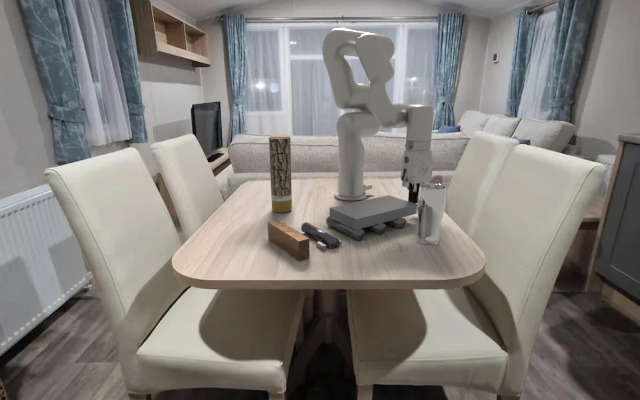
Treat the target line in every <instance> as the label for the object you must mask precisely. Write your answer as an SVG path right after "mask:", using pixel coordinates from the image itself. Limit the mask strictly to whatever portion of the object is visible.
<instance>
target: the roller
mask: <svg viewBox="0 0 640 400" xmlns="http://www.w3.org/2000/svg"><path fill="white" fill-rule="evenodd" d="M300 230H301V231H303V232H304V233H305V235H306V236H307V235H308V236H309V237H310V238H313V239H314V240H316V241H317V242H319V241H320V242H322V243H323V244H325V245H326V247H328V248H330V249H331V250H333V249H337V248H338V247H340V246H339V239H340V238H338V237H336V236H334V235H331V234H330V233H328V232H326V231H325V230H322V229H321V228H319V227H317V226H316V225H313V224H311V223H310V222H304V223H302V224H301V227H300ZM337 238H338V239H337Z"/></svg>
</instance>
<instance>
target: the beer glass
mask: <svg viewBox="0 0 640 400" xmlns="http://www.w3.org/2000/svg"><path fill="white" fill-rule="evenodd" d="M446 203H447V186H445V185H444V184H441V183H428V182H427V183H425V184H421V185H420V188H419V194H418V203H416V204H417V217H418V230H417V234H416V237H415V239H416V242H418V243H420V244H422V243H423V245H427V244H435V245H437V244H436V243H438V244H439V243H440V242H441V238H440V227H441V223H442V220H443V217H444V214H445V210H446Z"/></svg>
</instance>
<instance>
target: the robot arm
mask: <svg viewBox="0 0 640 400" xmlns="http://www.w3.org/2000/svg"><path fill="white" fill-rule="evenodd" d="M321 50H322V51H321V52H322V59H323V62H324V65H325V67H326V70H327V71H326V72H327V73H328V77H329V82H330V86H331V87H330V88H331V91H332V94H333V96H332V97H333V99H334V103H335V106H336V107H337V108H338V109H339V110H342V111H352V112H346V113H344V114H342V115H340V117H339V118H338V119H337V121H336V134H337V139H338V141H337V142H338V179H337V180H338V185H337V186H338V187H337V188H338V190H336V191H334V194H333V197H334V198H336V199H338V200H341V201H348V202H349V201H351V202H352V201H354V202H357V201H363V200H366V198H367V197H368V193H367V192H366V191H367V190H372V189H373V185H372V184H371V183H369V184H367V185H366V184H365V183H364V180H365V179H364V177H365V176H364V172H365V147H364V144H363V142H362V139H365V138H366V139H367V138H372V137H375V136H376V135H377V134H378V133H379V131H380V127H381V128H384V129H388V130H389V129H401V128H402V129H404V128H406V138H405V145H404V147H405V149H404V153H403V156H402V162H401V167H400V168H401V169H400V180H401V182H402V183H401V185H402V187H404V188H406V189H407V191H408V197H407V199H408V200H407V201H409V202H412V203H415V204H418V194H419V188H420V185H421V184H426V183H428V182H429V181H431V180H432V179H433V178H432V176H433V153H432V152H433V151H432V149H431V147H432V146H431V145H432V135H433V127H434V126H433V125H434V124H433V123H434V115H435V112H434V111H435V109H434V107H433V106H432V105H430V104H410V103H392V101H391V100H390V97H389V96H388V92H387V89H386V85H387V83H388V82H390V80H392V79H393V78H394V75H395V69H394V67H393V65H392V63H391V61H390V60H391V59H392V57H393V56H394V54H395V44H394V41H393V40H392V39H391V38H390V37H389V36H387V35H385V34H384V35H383V34H379V33H372V32H366V31H359V30H353V29H348V28H342V27H341V28H340V27H339V28H333V29H331V30H329V31H328V32H327V33H326V35H325V36H324V39H323V43H322V49H321ZM348 56H349V57H356V58H358V59H359V62H360V64H361V65H362V68H363V70H364V72H365V75H366V78H367V80H368V81H369V82H368V83H369V85H367V84H365V83H360V82H359V83H358V82H356V81H355V78H354V75H353V70H352V67H351V66H350V64H349V62H348V61H347V60H346V58H345V57H348ZM353 110H354V111H353Z"/></svg>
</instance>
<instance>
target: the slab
mask: <svg viewBox="0 0 640 400" xmlns="http://www.w3.org/2000/svg"><path fill="white" fill-rule="evenodd" d="M417 204H418V203H416V204H415V203H412V202H409V201H408V200H406V199H405V200H404V199H402V198H399V197H396V196H392V195H389V194H387V195H384V196H379V197H375V198H368V199H363V200H358V201H354V202H350V203H346V204H342V205H340V204H339V205H337V206H331V207H329V216H330V218H332V219H334V220H336V221H338V222H340V223H342V224H344V225H347V226H349V227H351V228H353V229H355V230H357V229H364V228H365V229H366V227H369V226H372V225H376V224H380V223H383V224H384V223H386V222H387V221H391V220H395V219H398V218H405V217H409V216H413V215H416V214H417V215H418V208H417Z"/></svg>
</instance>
